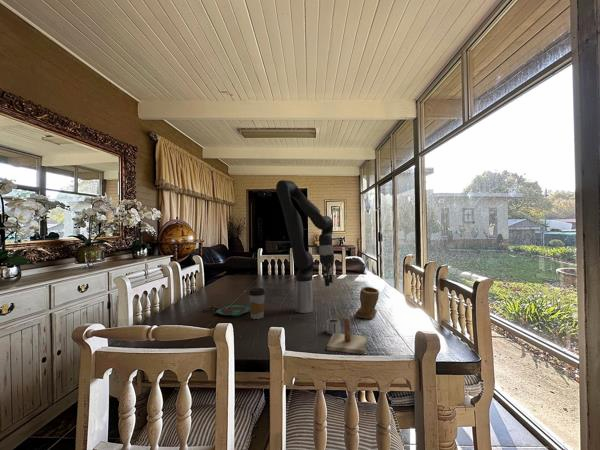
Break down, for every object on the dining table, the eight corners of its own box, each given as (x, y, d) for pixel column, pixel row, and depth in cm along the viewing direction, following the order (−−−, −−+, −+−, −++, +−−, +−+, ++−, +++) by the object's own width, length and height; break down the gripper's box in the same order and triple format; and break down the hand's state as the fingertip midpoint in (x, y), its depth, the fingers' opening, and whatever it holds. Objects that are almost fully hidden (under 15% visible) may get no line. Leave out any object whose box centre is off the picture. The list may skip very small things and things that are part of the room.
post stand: (326, 349, 110) (326, 322, 110) (333, 336, 124) (333, 312, 124) (364, 354, 106) (363, 325, 106) (367, 339, 119) (366, 314, 119)
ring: (325, 333, 127) (325, 322, 127) (328, 329, 132) (328, 318, 132) (339, 335, 125) (338, 323, 125) (341, 330, 131) (341, 319, 131)
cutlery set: (237, 320, 148) (237, 315, 148) (194, 314, 161) (194, 310, 161) (259, 310, 165) (259, 306, 166) (219, 305, 179) (219, 302, 179)
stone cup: (376, 321, 142) (376, 291, 142) (353, 318, 147) (352, 289, 147) (382, 313, 156) (381, 285, 156) (360, 310, 161) (360, 283, 161)
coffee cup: (268, 317, 152) (267, 288, 152) (259, 321, 144) (259, 291, 144) (255, 315, 155) (254, 287, 156) (245, 319, 148) (245, 290, 148)
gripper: (322, 252, 160) (324, 282, 160) (316, 255, 146) (319, 287, 146) (335, 252, 158) (338, 281, 157) (331, 254, 144) (333, 287, 144)
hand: (329, 284), depth 152 cm, fingers open, 8 cm apart
